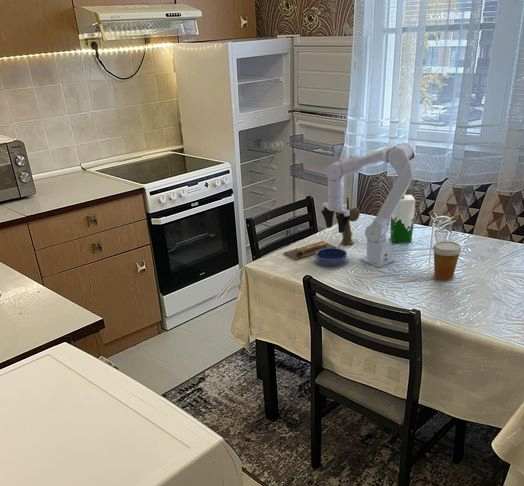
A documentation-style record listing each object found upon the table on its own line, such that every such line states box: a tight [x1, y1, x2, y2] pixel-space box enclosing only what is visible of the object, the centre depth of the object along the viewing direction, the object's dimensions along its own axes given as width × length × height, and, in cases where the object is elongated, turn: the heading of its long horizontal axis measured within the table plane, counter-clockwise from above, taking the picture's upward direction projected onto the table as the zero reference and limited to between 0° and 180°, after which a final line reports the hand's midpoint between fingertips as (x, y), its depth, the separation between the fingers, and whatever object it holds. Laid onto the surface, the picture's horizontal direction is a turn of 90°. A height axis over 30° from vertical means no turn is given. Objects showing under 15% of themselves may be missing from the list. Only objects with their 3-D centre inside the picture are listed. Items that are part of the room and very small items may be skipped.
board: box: [283, 240, 337, 261], centre depth 222 cm, size 20×9×1 cm, turn 122°
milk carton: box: [389, 194, 416, 244], centre depth 222 cm, size 9×9×20 cm
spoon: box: [295, 241, 327, 252], centre depth 221 cm, size 14×4×6 cm, turn 122°
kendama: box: [334, 196, 361, 246], centre depth 222 cm, size 6×10×20 cm, turn 30°
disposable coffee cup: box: [432, 240, 462, 282], centre depth 191 cm, size 10×10×12 cm
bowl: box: [314, 247, 348, 268], centre depth 211 cm, size 12×12×4 cm
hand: (335, 229), depth 213 cm, fingers open, 7 cm apart
